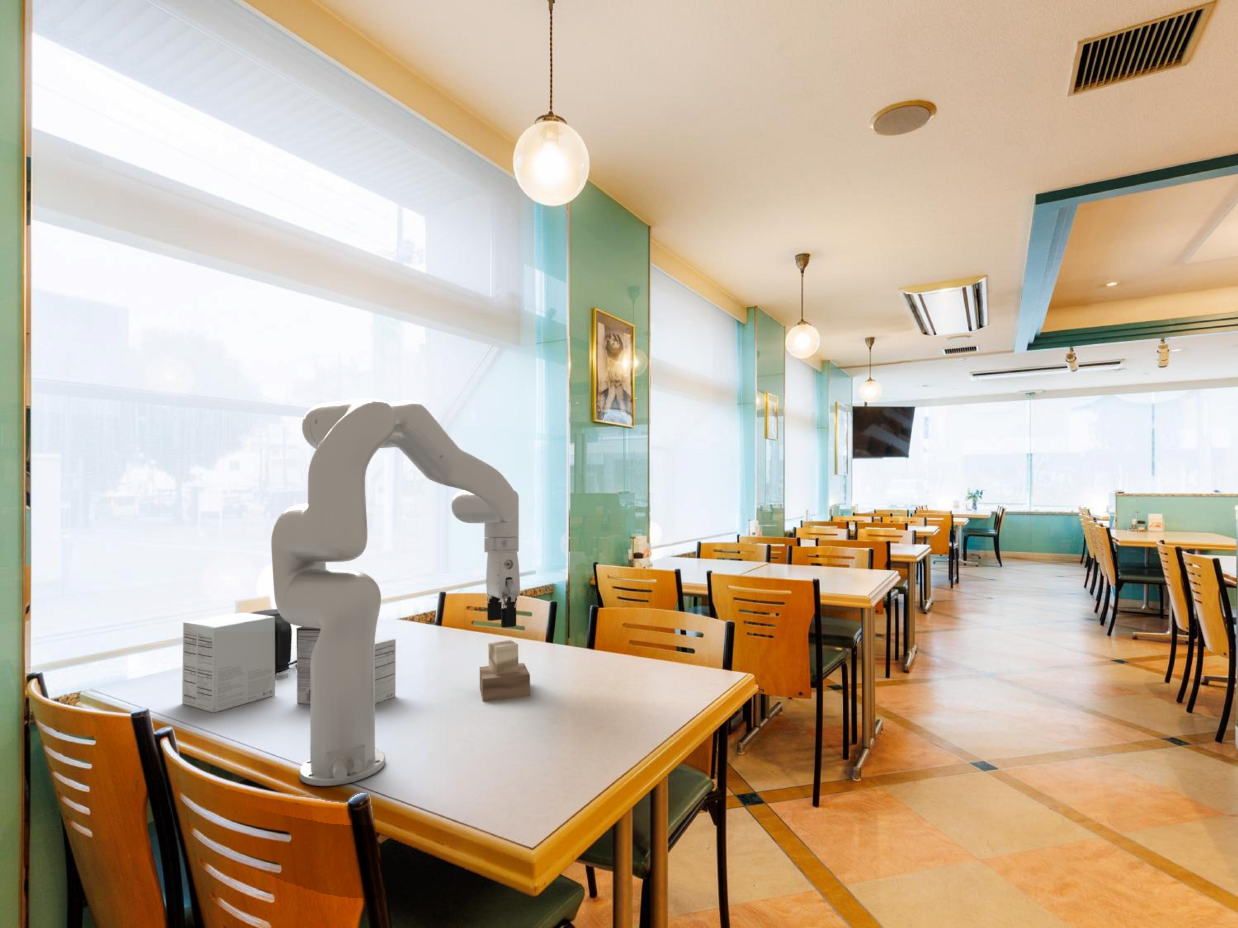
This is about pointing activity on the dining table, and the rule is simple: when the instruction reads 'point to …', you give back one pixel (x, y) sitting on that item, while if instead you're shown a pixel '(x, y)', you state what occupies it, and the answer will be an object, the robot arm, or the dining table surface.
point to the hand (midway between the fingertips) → (501, 623)
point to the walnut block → (504, 684)
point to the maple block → (503, 657)
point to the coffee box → (305, 661)
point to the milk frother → (280, 640)
